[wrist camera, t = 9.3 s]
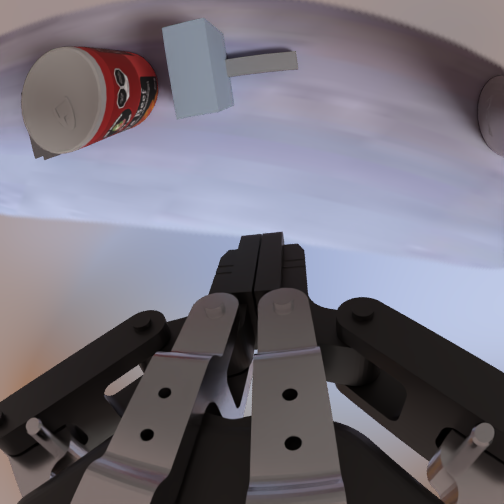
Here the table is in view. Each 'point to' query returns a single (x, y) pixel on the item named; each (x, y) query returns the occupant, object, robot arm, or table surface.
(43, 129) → the canned food
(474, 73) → the table surface
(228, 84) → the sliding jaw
